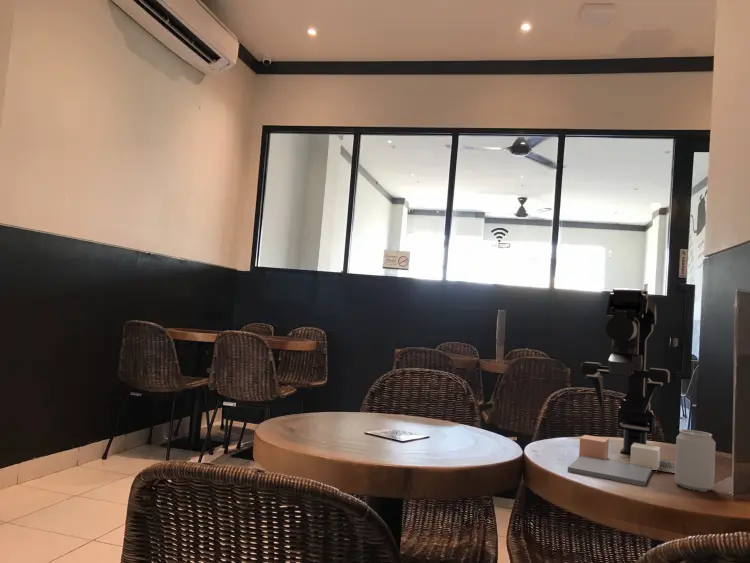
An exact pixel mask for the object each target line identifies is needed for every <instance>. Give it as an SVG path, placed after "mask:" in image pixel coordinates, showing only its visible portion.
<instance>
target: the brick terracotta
mask: <svg viewBox="0 0 750 563" xmlns="http://www.w3.org/2000/svg"><path fill="white" fill-rule="evenodd" d="M609 442H610V439H609V438H607V437H599V436H595V435H589V434H588V435H587V434H584V435H582V436H581V437H579V451H578V454H579V455H578V458H579V457H580V456H582V455H583V456H589V457H594V458H600V459H606V460H608V458H609Z"/></svg>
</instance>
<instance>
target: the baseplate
mask: <svg viewBox="0 0 750 563" xmlns="http://www.w3.org/2000/svg"><path fill="white" fill-rule="evenodd" d="M567 472H569V473H574V474H578V475H579V474H580V475H583V474H585V475H584V476H589V475H591V476H590V477H594V476H595V477H594V478H599V477H600V478H599V479H604V478H606V479H605V480H609V479H611V480H610V481H615V480H616V482H620V481H623V482H622V483H625V482H629V483H628V484H630V483H634V484H633V485H635V484H638V485H637V486H641V485H643V486H642V487H646V485H645V484H647V483H648V481H647V480H649V479H650V477H649V476H651V474H652V472H653V471H652V468H651V467H646V466H640V465H634V464H630V463H627V462H622V461H617V460H611V459H600V458H594V457H589V456H583V455H582V456H580V457H579V456H578V458H577V459H576V460H575V461H573V462H572V463H570V465H568V466H567ZM648 478H649V479H648ZM646 482H647V483H646Z"/></svg>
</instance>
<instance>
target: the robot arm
mask: <svg viewBox="0 0 750 563" xmlns="http://www.w3.org/2000/svg"><path fill="white" fill-rule="evenodd" d="M606 307H607V309H606V312H605V315H606V316H609V317H612V318H610V319H609V320H608V321H607V323H606V326H605V331H606V334H607V336H608V337H609V338H610V340H611V341H612V342H611V343H612V344H611V353H610V355H609V358H608V366H604V365H602V363H601V362H592V361H584V362H582V363H581V364H580V370H579V375H585V379H588V380H590V381H591V383H592V385H593V387H594V390H595V393H596V396H597V400H598V403H599V406H600V407H601V408H603V407H604V406H603V405H604V382H603V381H604V380H603V379H604V378H603V375H601V374H604V375H605V374H606V375H613V376H622V377H623V376H624V377H627V393H626V394H625V396H624V397H623V398H622V400H621V402H620V406H618V409H617V429H618V430H623V443H622V444H623V445H622V446H623V447H621V449H620V451H619V452H620V453H621V454H627V455H631V446H632V444H633V443H639V444H645V445H647V442H648V441H647V437H648V436H647V435H648V434H650V435H652V434H656V415H654V412H653V410H651V399H652V397H653V394H654V393H655V391H656V390H657V388H658V387H662V386H663V385H664V384H668V383H670V380H671V379H670V377H671V376H670V375H671V372H670V371H669V370H668V369H667V368H666V369H665V368H655V367H649V369H648V370H647V369H646V367H647V366H646V365H647V364H646V363H647V362H646V361H647V340H648V338H649V337H650V336H651V334H652V333H653V332H654V326H656V325H657V305H656V303H655V301H653V299H651V297H650V296H649V292H648V290H646V289H642V288H619V287H618V288H617V287H615V288H613V289H612V292H609V297H608V302H607V306H606ZM646 379H647V380H648V381H647V382H646ZM645 388H646V389H645Z"/></svg>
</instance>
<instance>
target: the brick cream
mask: <svg viewBox="0 0 750 563" xmlns="http://www.w3.org/2000/svg"><path fill="white" fill-rule="evenodd" d="M660 455H661V447H660V446H656V445H652V444H646V445H645V444H639V443H633V444H632V446H631V454H630V458H629V459H630V460H629V462H630V463H629V464H634V465H640V466H646V467H651V468H652V469H653V470H657V469H658V470H659V468H658V466H659V467H660V459H661V458H660V457H661V456H660Z"/></svg>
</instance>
